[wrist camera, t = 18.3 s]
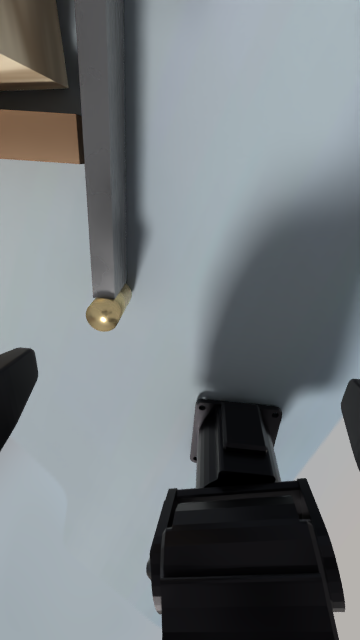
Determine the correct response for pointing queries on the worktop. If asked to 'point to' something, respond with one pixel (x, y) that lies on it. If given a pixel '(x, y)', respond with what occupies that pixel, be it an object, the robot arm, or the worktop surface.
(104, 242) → the bar
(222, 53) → the worktop surface
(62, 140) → the walnut cradle
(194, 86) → the worktop surface
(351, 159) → the worktop surface
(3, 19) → the birch block
